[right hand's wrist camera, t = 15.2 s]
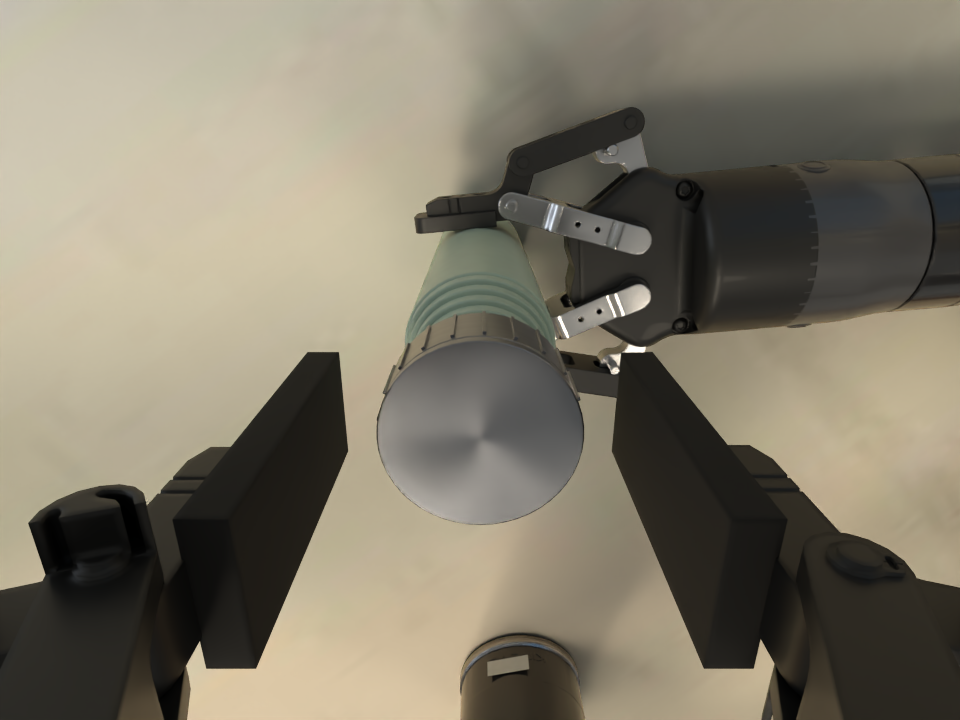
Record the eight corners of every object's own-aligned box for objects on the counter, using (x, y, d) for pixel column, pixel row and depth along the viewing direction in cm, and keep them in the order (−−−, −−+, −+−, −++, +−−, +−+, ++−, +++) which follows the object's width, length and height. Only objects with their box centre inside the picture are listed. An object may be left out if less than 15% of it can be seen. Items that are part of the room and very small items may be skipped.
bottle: (483, 305, 35) (487, 549, 14) (423, 253, 34) (332, 434, 13) (537, 247, 34) (630, 421, 13) (477, 190, 33) (472, 281, 12)
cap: (597, 336, 14) (617, 369, 12) (541, 494, 16) (549, 545, 14) (411, 288, 14) (399, 313, 12) (372, 455, 15) (356, 502, 13)
